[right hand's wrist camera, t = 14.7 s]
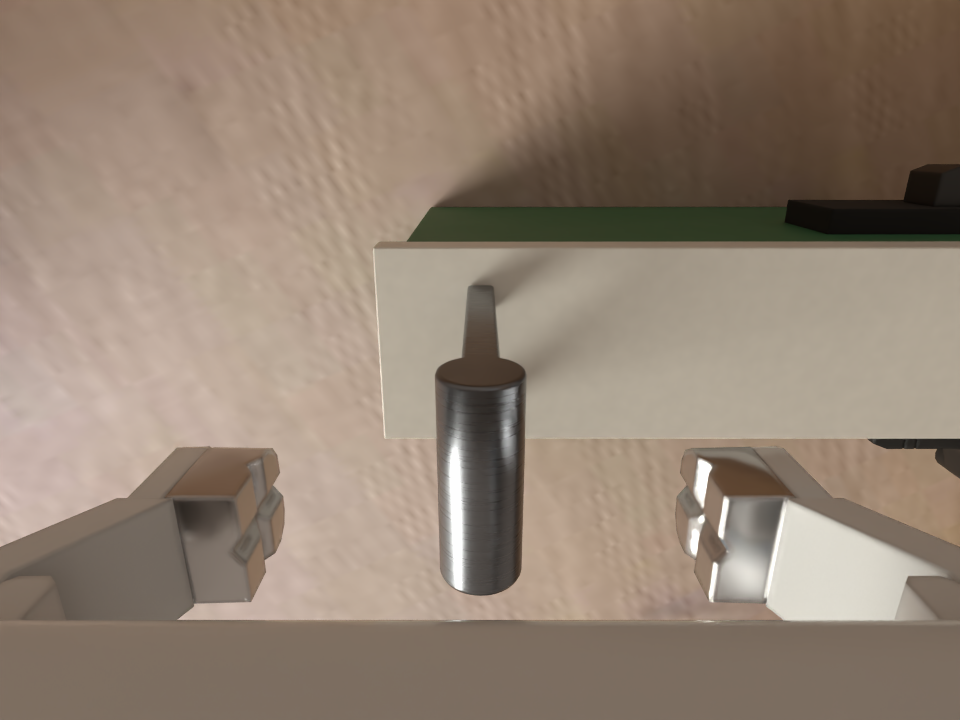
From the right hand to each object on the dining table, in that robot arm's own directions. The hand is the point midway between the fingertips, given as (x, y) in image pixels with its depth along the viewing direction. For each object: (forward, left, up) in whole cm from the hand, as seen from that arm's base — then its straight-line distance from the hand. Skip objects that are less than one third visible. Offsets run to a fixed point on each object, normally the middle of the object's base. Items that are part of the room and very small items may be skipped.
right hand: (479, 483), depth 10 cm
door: (+4, +5, -8) cm, 10 cm away
